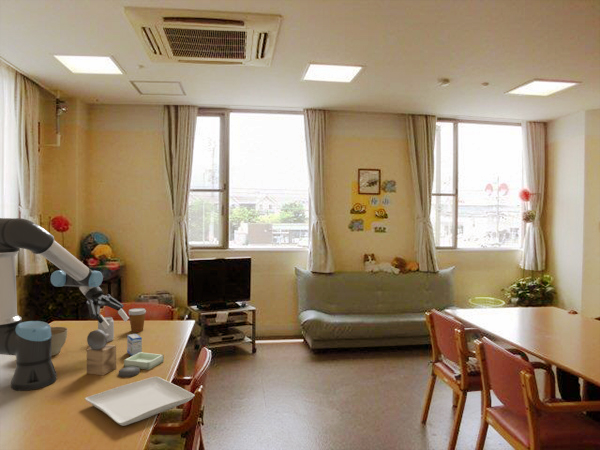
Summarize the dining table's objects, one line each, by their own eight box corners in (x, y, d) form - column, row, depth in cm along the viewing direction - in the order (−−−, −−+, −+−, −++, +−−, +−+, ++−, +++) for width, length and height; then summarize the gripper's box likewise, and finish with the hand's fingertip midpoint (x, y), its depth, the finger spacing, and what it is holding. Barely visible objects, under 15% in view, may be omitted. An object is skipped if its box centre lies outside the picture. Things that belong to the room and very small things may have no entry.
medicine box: (127, 352, 199) (126, 334, 198) (136, 350, 201) (136, 333, 201) (132, 357, 193) (132, 338, 192) (142, 355, 195) (142, 336, 195)
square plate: (196, 404, 145) (196, 393, 145) (119, 435, 125) (119, 422, 125) (156, 383, 163) (156, 373, 163) (83, 407, 143) (83, 396, 143)
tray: (148, 369, 177) (148, 362, 177) (124, 366, 180) (124, 359, 180) (163, 361, 187) (163, 354, 187) (139, 358, 191) (139, 352, 191)
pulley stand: (102, 375, 171) (102, 331, 170) (86, 373, 173) (86, 330, 172) (116, 368, 178) (116, 326, 178) (101, 366, 181) (100, 325, 180)
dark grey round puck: (130, 378, 168) (130, 374, 168) (114, 375, 170) (114, 372, 170) (143, 370, 176) (143, 367, 176) (127, 368, 178) (127, 365, 178)
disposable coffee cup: (127, 329, 239) (127, 308, 239) (145, 327, 243) (145, 307, 243) (128, 333, 230) (128, 312, 230) (146, 331, 234) (146, 310, 234)
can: (107, 343, 213) (107, 320, 213) (94, 342, 214) (94, 319, 214) (116, 339, 220) (116, 316, 220) (104, 338, 222) (104, 316, 222)
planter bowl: (30, 351, 200) (29, 329, 200) (68, 346, 207) (68, 325, 207) (25, 362, 186) (25, 338, 186) (67, 356, 193) (66, 333, 193)
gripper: (75, 290, 191) (103, 324, 187) (114, 281, 214) (139, 312, 211) (66, 300, 192) (93, 335, 188) (105, 291, 216) (130, 321, 212)
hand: (117, 323), depth 200 cm, fingers open, 13 cm apart
